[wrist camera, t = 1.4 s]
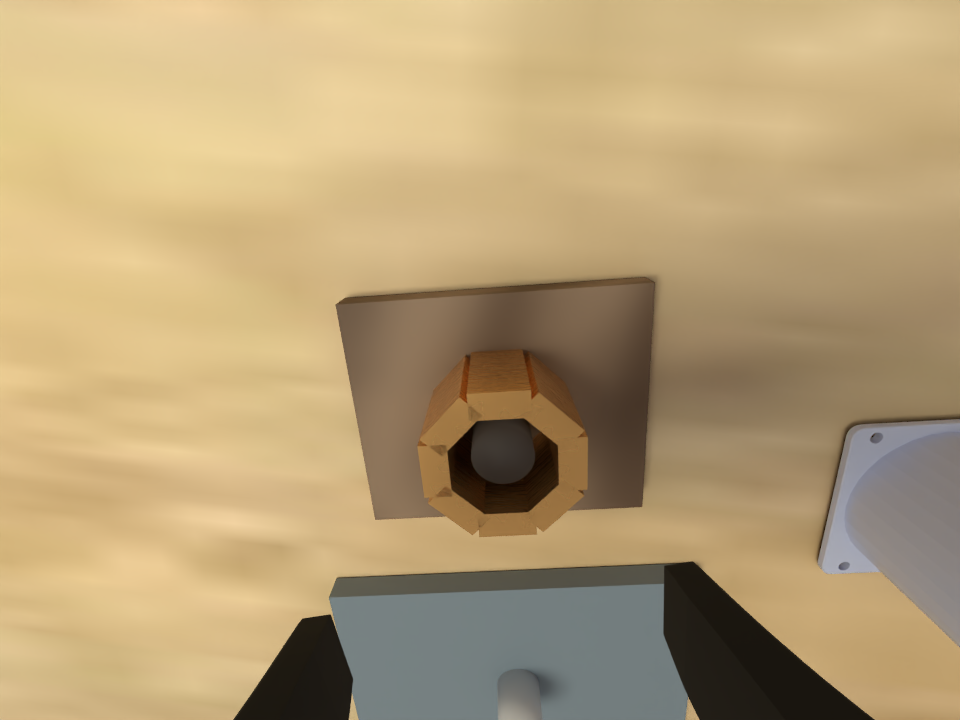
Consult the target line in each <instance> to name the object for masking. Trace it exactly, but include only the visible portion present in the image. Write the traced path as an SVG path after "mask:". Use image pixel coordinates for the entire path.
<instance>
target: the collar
mask: <svg viewBox="0 0 960 720" xmlns="http://www.w3.org/2000/svg"><path fill="white" fill-rule="evenodd" d="M519 418H524V419H526V420H527V421H528V422H529V423H531V424H532V425H533V426H534V427H536V428H537V429H538V430H539V431H540V432H539V433H538V434H537V435H536V436H535V437H534V438H533V445H534V451H535V461H534V464H533V467H532V469H531V470H530V472H529V473H528V474H527V475H526V476H525V477H523V478H522V479H520V480H518V481H516V482H513V483H509V484H497V483H493V482H490V481H488V480H486V479H484V478H482V477H481V476H480V475H479V474H478V473H477V472H476V470H475V469H474V467H473V464H472V460H471V449H472V442H471V441H470V440H469V439H467V438H466V437H465V436H463V435H464V434H465V433H466V432H467V431H468V430H469V429H470V428H471V427H472V426H473V424H474V423H475V422H476V421H484V420H502V419H519ZM417 448H418V455H419V462H420V470H421V477H422V484H423V491H424V498H429V501H428V504H429V505H431V506H432V507H434V508H435V509H436V510H438V511H439V512H441V513H442V514H444V515H445V516H446V517H448V518H449V519H451V520H452V521H453V522H455V523H456V524H458V525H459V526H460V527H462V528H463V529H465V530H466V531H468V532H469V533H470V534H472V535H473V534H474V533H475V532H476V531H477V530H479V537H491V536H512V535H534V534H537V530H536V527H538V528H539V529H540V530H542V531H543V532H544V531H545V530H546V529H547V528H548V527H549V526H551V525H552V524H553V523H554V522H555V521H556V520H557V519H559V518H560V517H561V516H562V515H563V514H564V513H565V512H567V511H568V510H569V509H570V508H571V507H572V506H573V505H575V504H576V503H577V502H578V501H579V500H580V499H581V498H583V497H584V493H583V490H587V486H588V436H587V434H586V431H585V429H584V426H583V424H582V421H581V419H580V417H579V414H578V412H577V409H576V407H575V404H574V402H573V399H572V397H571V395H570V392H569V390H568V387H567V386H566V383H565V382H564V381H563V380H562V379H561V378H560V377H559V376H557V375H556V374H555V373H554V372H553V371H551V370H550V369H549V368H548V367H547V366H546V365H544V364H543V363H542V362H541V361H540V360H538V359H537V358H536V357H535V356H534V355H533V354H531V353H530V352H529V351H528V352H527V353H526V354H525V355H523V350H522V349H513V350H497V351H482V352H471V358H469V357H467V356H466V355H465V356H464V357H463V358H462V359H461V360H460V361H459V362H458V364H457V365H456V366H455V367H454V368H453V369H452V370H451V371H450V372H449V374H448V375H447V376H446V377H445V378H444V379H443V380H442V381H441V382H440V383H439V385H438V386H437V387H436V388H435V389H434V390H433V394H432V397H431V400H430V404H429V407H428V411H427V414H426V418H425V421H424V425H423V428H422V432H421V435H420V439H419V442H418V446H417Z"/></svg>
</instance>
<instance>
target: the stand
mask: <svg viewBox="0 0 960 720" xmlns="http://www.w3.org/2000/svg"><path fill="white" fill-rule="evenodd" d="M654 292H655V282H653V281H651V280H649V279H647V278H645V277H640V278H626V279H612V280H597V281H583V282H568V283H554V284H540V285H525V286H511V287H496V288H482V289H468V290H453V291H439V292H425V293H410V294H396V295H381V296H367V297H353V298H344V299H343V300H342V301H340V302H339V303H337V304H336V309H337V315H338V320H339V326H340V331H341V336H342V342H343V347H344V353H345V358H346V363H347V369H348V374H349V380H350V385H351V391H352V396H353V401H354V407H355V412H356V418H357V423H358V428H359V434H360V439H361V445H362V450H363V455H364V461H365V466H366V472H367V477H368V482H369V488H370V493H371V499H372V504H373V510H374V515H375V520H381V519H402V518H422V517H443V516H445V515H444V514H442V513H441V512H439V511H438V510H436V509H435V508H434V507H432V506H431V505H429V504H428V501H429V498H424V491H423V484H422V477H421V470H420V462H419V455H418V448H417V446H418V442H419V439H420V435H421V432H422V428H423V425H424V421H425V418H426V414H427V411H428V407H429V404H430V400H431V397H432V394H433V390H434V389H435V388H436V387H437V386H438V385H439V383H440V382H441V381H442V380H443V379H444V378H445V377H446V376H447V375H448V374H449V372H450V371H451V370H452V369H453V368H454V367H455V366H456V365H457V364H458V362H459V361H460V360H461V359H462V358H463V357H464V356H465V355H466V356H467V357H469V358H471V352H482V351H497V350H513V349H522V350H523V355H525V354H526V353H527V352H528V351H529V352H530V353H531V354H533V355H534V356H535V357H536V358H537V359H538V360H540V361H541V362H542V363H543V364H544V365H546V366H547V367H548V368H549V369H550V370H551V371H553V372H554V373H555V374H556V375H557V376H559V377H560V378H561V379H562V380H563V381H564V382H565V383H566V386H567V387H568V390H569V392H570V395H571V397H572V399H573V402H574V404H575V407H576V409H577V412H578V414H579V417H580V419H581V421H582V424H583V426H584V429H585V431H586V434H587V436H588V486H587V490H583V493H584V497H583V498H581V499H580V500H579V501H578V502H577V503H576V504H575V505H573V506H572V507H571V508H570V509H569V510H588V509H608V508H629V507H642V500H643V483H644V466H645V448H646V431H647V414H648V396H649V379H650V361H651V344H652V327H653V309H654ZM539 432H540V431H539V430H538V429H537V428H536V427H534V426H533V425H532V424H531V423H529V422H528V421H527V420H526V419H524V418H519V419H502V420H484V421H476V422H475V423H474V424H473V426H472V427H471V428H470V429H469V430H468V431H467V432H466V433H465V434H464V435H463V436H465V437H466V438H467V439H469V440H470V441H471V442H472V449H471V460H472V464H473V467H474V469H475V470H476V472H477V473H478V474H479V475H480V476H481V477H482V478H484V479H486V480H488V481H490V482H493V483H497V484H509V483H513V482H516V481H518V480H520V479H522V478H523V477H525V476H526V475H527V474H528V473H529V472H530V470H531V469H532V467H533V464H534V461H535V451H534V445H533V438H534V437H535V436H536V435H537V434H538V433H539Z"/></svg>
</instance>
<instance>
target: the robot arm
mask: <svg viewBox="0 0 960 720" xmlns="http://www.w3.org/2000/svg"><path fill="white" fill-rule="evenodd" d="M874 433H875V435H874V436H873V437H872V438H871V436H872V435H873V434H874ZM818 565H819V567H820V568H821V569H822V570H823V571H824V572H825V573H828V574H840V573H864V572H882V573H883V574H884V575H885V576H886V577H887V578H888V579H889V580H890V581H891V582H892V583H893V584H894V585H895V586H896V587H897V588H898V589H899V590H900V591H901V592H902V593H903V594H905V595H906V596H907V597H908V598H909V599H910V600H911V601H912V602H913V603H914V604H915V605H916V606H917V607H918V608H919V609H920V610H921V611H922V612H923V613H924V614H925V615H926V616H927V617H928V618H930V619H931V620H932V621H933V622H934V623H935V624H936V625H937V626H938V627H939V628H940V629H941V630H942V631H943V632H944V633H945V634H946V635H947V636H948V637H949V638H950V639H951V640H952V641H953V642H955V643H956V644H957V645H958V646H959V647H960V419H952V420H933V421H915V422H897V423H879V424H861V425H856V426H854V427H852V428H851V429H850V430H849V431H848V433H847V435H846V440H845V444H844V448H843V453H842V457H841V462H840V466H839V470H838V475H837V479H836V484H835V488H834V492H833V497H832V501H831V506H830V510H829V514H828V519H827V523H826V528H825V532H824V536H823V541H822V545H821V550H820V554H819V558H818ZM663 634H664V637H665V640H666V642H667V645H668V648H669V650H670V653H671V656H672V658H673V661H674V664H675V666H676V669H677V671H678V674H679V676H680V679H681V681H682V684H683V686H684V689H685V691H686V693H687V695H688V697H689V699H690V701H691V703H692V705H693V707H694V709H695V711H696V713H697V715H698V717H699V719H700V720H874V719H873V718H872V717H870V716H869V715H868V714H867V713H865V712H864V711H863V710H861V709H860V708H859V707H858V706H856V705H855V704H854V703H853V702H851V701H850V700H849V699H848V698H847V697H845V696H844V695H843V694H842V693H840V692H839V691H838V690H837V689H835V688H834V687H833V686H832V685H830V684H829V683H828V682H827V681H826V680H824V679H823V678H822V677H821V676H820V675H818V674H817V673H816V672H815V671H814V670H812V669H811V668H810V667H809V666H808V665H806V664H805V663H804V662H803V661H802V660H801V659H799V658H798V657H797V656H796V655H795V654H794V653H793V652H791V651H790V650H789V649H788V648H787V647H786V646H785V645H783V644H782V643H781V642H780V641H779V640H778V639H776V638H775V637H774V636H773V635H772V634H771V633H770V632H768V631H767V630H766V629H765V628H764V627H763V626H762V625H761V624H760V623H758V622H757V621H756V620H755V619H754V618H753V617H752V616H751V615H750V614H749V613H748V612H746V611H745V610H744V609H743V608H742V607H741V606H740V605H739V604H738V603H737V602H736V601H735V600H733V599H732V598H731V597H730V596H729V595H728V594H727V593H726V592H725V591H724V590H723V589H722V588H721V587H720V586H719V585H718V584H717V583H715V582H714V581H713V580H712V579H711V578H710V577H709V576H708V575H707V574H706V573H705V572H704V571H703V570H702V569H701V568H700V567H699V566H698V565H696V564H695V563H694V562H686V563H679V564H672V565H666V566H664V619H663ZM352 686H353V677H352V674H351V671H350V668H349V666H348V663H347V660H346V657H345V654H344V651H343V648H342V646H341V643H340V640H339V637H338V634H337V631H336V628H335V626H334V623H333V620H332V617H331V615H324V616H317V617H310V618H304V619H302V620H301V621H300V622H299V624H298V625H297V627H296V628H295V630H294V631H293V633H292V634H291V636H290V637H289V639H288V640H287V642H286V643H285V645H284V646H283V648H282V649H281V651H280V652H279V654H278V655H277V657H276V658H275V660H274V661H273V663H272V664H271V666H270V667H269V669H268V670H267V672H266V673H265V675H264V676H263V678H262V679H261V681H260V682H259V684H258V685H257V687H256V688H255V689H254V691H253V692H252V694H251V695H250V697H249V698H248V700H247V701H246V702H245V704H244V705H243V707H242V708H241V710H240V711H239V712H238V714H237V715H236V717H235V718H234V720H349V713H350V704H351V695H352Z"/></svg>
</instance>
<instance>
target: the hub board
mask: <svg viewBox="0 0 960 720" xmlns="http://www.w3.org/2000/svg"><path fill="white" fill-rule="evenodd" d="M666 565H672V564H656V565H633V566H610V567H587V568H564V569H540V570H517V571H494V572H471V573H448V574H424V575H401V576H378V577H355V578H337V579H336V581H335V584H334V586H333V589H332V591H331V594H330V596H329V600H330V604H331V608H332V612H333V616H334V620H335V624H336V628H337V632H338V637H339V640H340V643H341V646H342V648H343V651H344V654H345V657H346V660H347V663H348V666H349V668H350V671H351V674H352V677H353V686H352V694H353V698H354V702H355V706H356V710H357V714H358V718H359V720H685V717H686V708H687V700H688V695H687V693H686V691H685V689H684V686H683V684H682V681H681V679H680V676H679V674H678V671H677V669H676V666H675V664H674V661H673V658H672V656H671V653H670V650H669V648H668V645H667V642H666V640H665V637H664V634H663V619H664V566H666Z"/></svg>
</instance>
